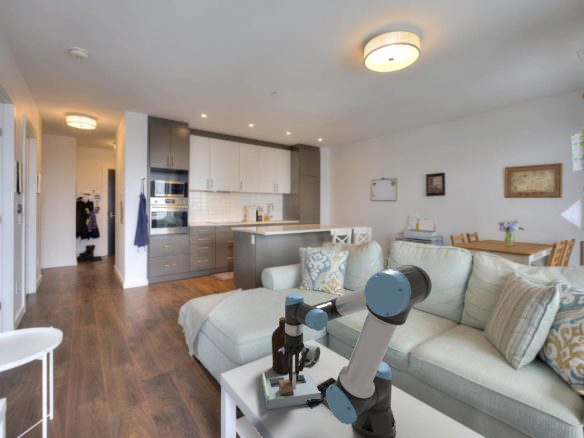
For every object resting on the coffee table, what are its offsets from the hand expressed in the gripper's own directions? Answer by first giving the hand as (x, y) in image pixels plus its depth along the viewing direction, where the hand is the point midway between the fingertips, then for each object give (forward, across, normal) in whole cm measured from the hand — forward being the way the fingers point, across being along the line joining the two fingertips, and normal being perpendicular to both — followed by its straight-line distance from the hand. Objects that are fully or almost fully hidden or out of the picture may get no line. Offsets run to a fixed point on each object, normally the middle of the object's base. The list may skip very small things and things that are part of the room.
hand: (293, 387), depth 117 cm
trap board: (+4, +1, -3) cm, 5 cm away
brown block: (+2, +3, 0) cm, 4 cm away
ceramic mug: (+5, -14, -25) cm, 29 cm away
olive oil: (+5, +1, -21) cm, 21 cm away
